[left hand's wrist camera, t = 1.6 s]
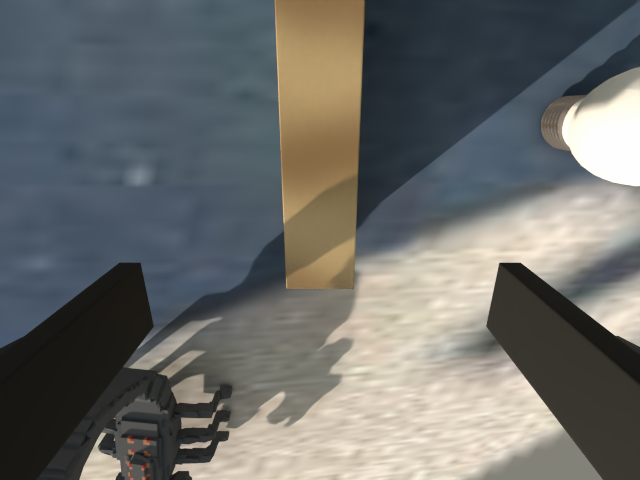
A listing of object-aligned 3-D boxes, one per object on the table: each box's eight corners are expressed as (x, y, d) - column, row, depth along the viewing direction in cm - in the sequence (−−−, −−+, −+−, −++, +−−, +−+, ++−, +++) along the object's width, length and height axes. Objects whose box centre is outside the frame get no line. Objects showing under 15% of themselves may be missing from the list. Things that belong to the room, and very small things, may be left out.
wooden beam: (343, 232, 30) (353, 289, 20) (296, 232, 30) (286, 289, 20) (353, -181, 20) (382, -427, 11) (286, -181, 20) (257, -427, 11)
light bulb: (504, 130, 26) (622, 145, 16) (576, 52, 25) (761, 12, 14) (560, 183, 28) (700, 227, 18) (632, 113, 26) (836, 117, 16)
